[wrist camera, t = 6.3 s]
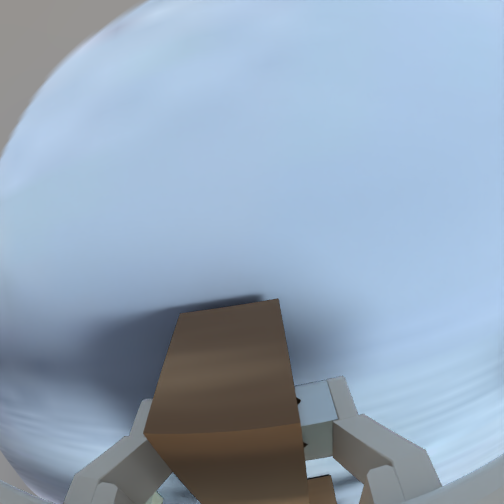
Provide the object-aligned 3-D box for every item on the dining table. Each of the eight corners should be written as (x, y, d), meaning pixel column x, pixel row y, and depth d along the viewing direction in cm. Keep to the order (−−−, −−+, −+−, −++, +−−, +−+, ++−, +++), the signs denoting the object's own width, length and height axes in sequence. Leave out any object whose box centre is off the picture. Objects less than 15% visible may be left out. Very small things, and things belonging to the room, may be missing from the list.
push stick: (330, 484, 14) (341, 544, 10) (232, 496, 14) (231, 556, 10) (328, 289, 9) (381, 403, 5) (136, 318, 9) (83, 428, 5)
